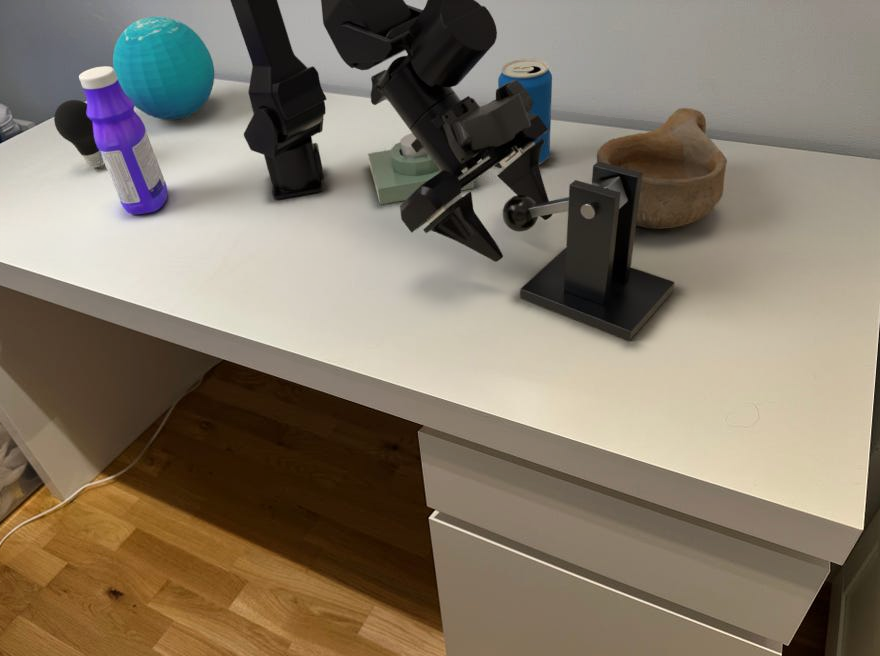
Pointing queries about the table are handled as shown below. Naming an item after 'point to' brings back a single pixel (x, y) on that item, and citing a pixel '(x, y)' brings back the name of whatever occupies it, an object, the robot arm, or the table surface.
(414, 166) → the button block
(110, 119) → the bottle
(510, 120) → the robot arm
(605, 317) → the lever bracket
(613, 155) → the bowl
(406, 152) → the flush button
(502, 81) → the beverage can
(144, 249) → the table surface
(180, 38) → the decorative orb
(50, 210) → the table surface
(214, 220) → the table surface
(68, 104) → the light bulb
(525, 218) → the ball knob lever
